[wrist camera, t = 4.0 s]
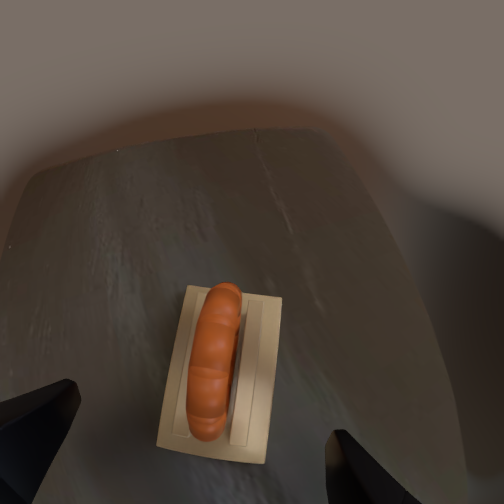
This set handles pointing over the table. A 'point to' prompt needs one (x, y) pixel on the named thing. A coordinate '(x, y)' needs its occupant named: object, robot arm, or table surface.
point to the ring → (213, 362)
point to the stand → (243, 385)
